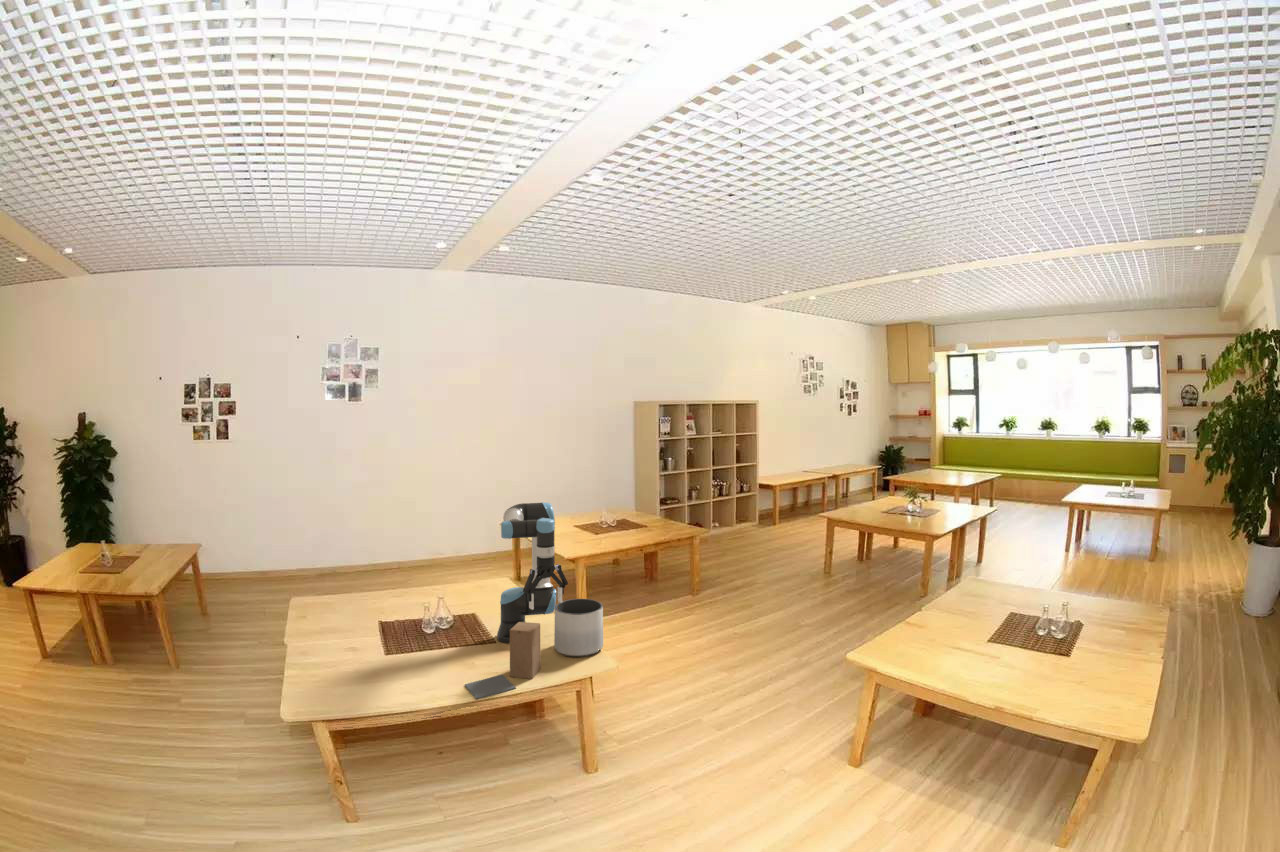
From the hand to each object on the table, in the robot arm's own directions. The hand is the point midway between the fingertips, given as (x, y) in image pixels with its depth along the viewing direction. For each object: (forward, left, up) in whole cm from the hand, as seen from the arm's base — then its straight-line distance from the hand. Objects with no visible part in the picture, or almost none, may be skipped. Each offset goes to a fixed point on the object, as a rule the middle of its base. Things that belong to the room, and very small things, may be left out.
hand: (545, 605), depth 259 cm
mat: (+1, -25, -28) cm, 38 cm away
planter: (-13, +23, -28) cm, 39 cm away
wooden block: (-3, -8, -28) cm, 30 cm away
